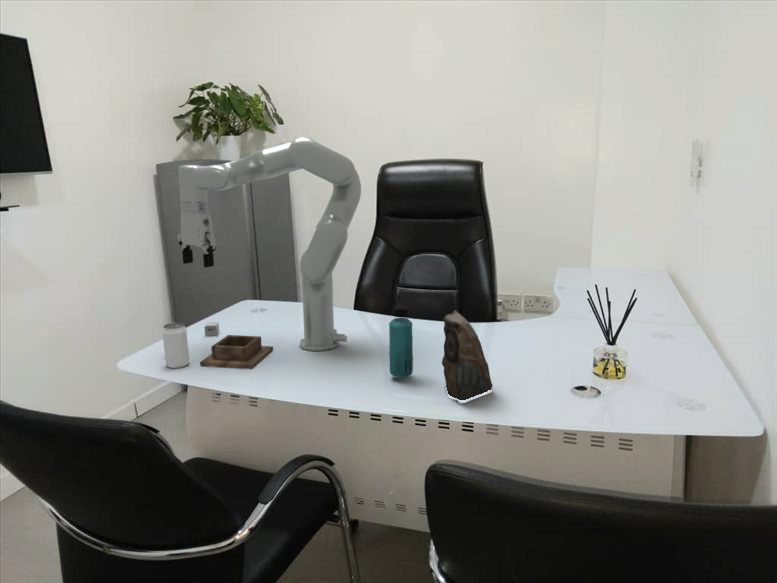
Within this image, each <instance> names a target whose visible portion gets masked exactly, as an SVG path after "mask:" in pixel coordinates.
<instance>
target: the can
mask: <svg viewBox="0 0 777 583" xmlns="http://www.w3.org/2000/svg"><path fill="white" fill-rule="evenodd" d="M162 340H163V348H164V350H163V351H164V358H165V365H166V367H167V366H168V367H167V368H169V367H170V369H180V368H179V367H181V368H184V367H183V366H185V367H186V365H187V364H188V365H189V363H190V354H189V343H188V333H187V328H186V327H185V323H184V322H171V323H167V324H164V325H163V330H162ZM188 365H187V366H188Z"/></svg>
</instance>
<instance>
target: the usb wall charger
mask: <svg viewBox="0 0 777 583" xmlns="http://www.w3.org/2000/svg"><path fill="white" fill-rule="evenodd" d="M219 324H220V323H219V322H218V321H209V322H208V321H207V322H206V324H205V325H204V336H205V337H206V336H216V337H217V336H218V335H219V332H220V325H219Z"/></svg>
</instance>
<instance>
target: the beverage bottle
mask: <svg viewBox="0 0 777 583" xmlns="http://www.w3.org/2000/svg"><path fill="white" fill-rule="evenodd" d="M392 315H393V317H394V318H393V319H391V321H390V322H389V323H388V326H389V328H388V330H389V351H388V352H389V353H388V354H389V373H390V375H391V376H393V377H396V378H407V377H410V376H412V374H413V371H414V355H413V353H414V352H413V341H414V339H413V338H414V337H413V322H412V321H411V320H410V319H409V318H406V317H408V316H409V307H407V306H405V305H397V306H394V307H393V309H392ZM395 317H396V318H395Z"/></svg>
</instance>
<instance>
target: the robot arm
mask: <svg viewBox="0 0 777 583" xmlns="http://www.w3.org/2000/svg"><path fill="white" fill-rule="evenodd" d="M299 170H304V171H307V172H309V173H311V174H312V175H314V176H316V177H318V178H320V179H323V180H324V181H326V182H328V183H329V184H332V187H333V189H332V194H331V196H330V198H329V200H328V203H327V205H326V208H325V210H324V212H323V214H322V216H321V218H320V219H319V221H318V222H317V225H316V226H315V231H314V233H313V236H312V237H311V239H310V243H309V245H308V247H307V248H306V250H305V251H304V252H303V253H302V256H301V259H300V262H299V271H300V275H301V294H302V313H303V336H304V337H303V338H302V339H301V340H300V341H299V347H300V348H302V349H303V350H307V351H313V352H319V351H320V352H321V351H327V350H332V349H335V348H337V347H338V346H339V345H340V342H343V343H346V342H348V336H347V335H346V334H345V333H338V332H337V331H338V330H337V328H336V329H335V324H334V323H335V322H334V320H335V319H334V289H333V284H334V283H333V271H334V270H335V268H336V266H337V263H338V261H339V259H340V258H341V254H342V253H343V251H344V248H345V247H346V243H347V241H348V237H349V233H348V229H349V227H350V224H351V223H352V220H353V218H354V215H355V213H356V211H357V208H358V205H359V203H360V199H361V194H362V184H361V179H360V176H359V174H358V172H357V169H356V167H355V165H354V163H353V161H352V160H351V159H350V158H349V157H347V156H346V155H343V154H341V153H338V152H337V151H335V150H333V149H331V148H329V147H327V146H325V145H323V144H321V143H319V142H317V141H316V140H314V139H312V138H310V137H308V136H300V137H297V138H295V139H293V140H290V141H286V142H282V143H280V144H276V145H273V146H269V147H265V148H262V149H259V150H258V151H255V152H254V153H252V154H251V155H248V156H245V157H242V158H239V159H235V160H232V161H230V162H229V161H228V162H225V163H221V164H212V165H201V164H181V165H180V166H179V167H178V183H179V184H178V185H179V194H180V196H179V197H180V199H179V200H180V209H181V210H180V212H181V213H180V232H179V233H178V234H176V237H177V238H176V239H177V240H178V244H179V246H180V249H181V252H182V263H183V264H191V263H193V262H194V258H193V249H192V247H197V248H201V249H202V251H203V253H202V254H203V255H202V256H203V258H202V260H203V268H210V267H214V266H215V264H214V263H215V261H214V260H215V259H214V254H215V252H216V249H217V245H218V239H217V238H216V237H215V234H214V227H213V226H214V225H213V220H212V217H211V214H210V212H209V203H208V191H213V192H224V191H225V190H230V189H232V188H235V187H238V186H243V185H246V184H249V183H252V182H257V181H261V180H262V181H263V180H269V179H273V178H275V177H279V176H282V175H284V174H285V175H286V174H289V173H293V172H296V171H299Z"/></svg>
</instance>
